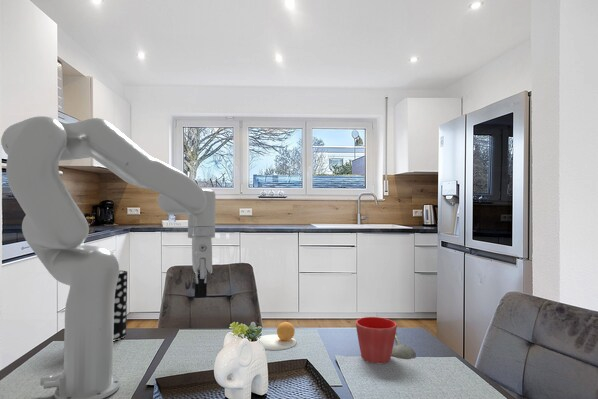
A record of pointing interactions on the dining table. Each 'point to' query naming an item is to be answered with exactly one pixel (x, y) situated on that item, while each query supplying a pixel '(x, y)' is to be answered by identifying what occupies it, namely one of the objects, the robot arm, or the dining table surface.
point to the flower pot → (376, 338)
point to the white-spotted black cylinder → (120, 306)
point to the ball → (285, 331)
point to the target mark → (276, 342)
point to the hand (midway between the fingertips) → (200, 296)
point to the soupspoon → (402, 350)
